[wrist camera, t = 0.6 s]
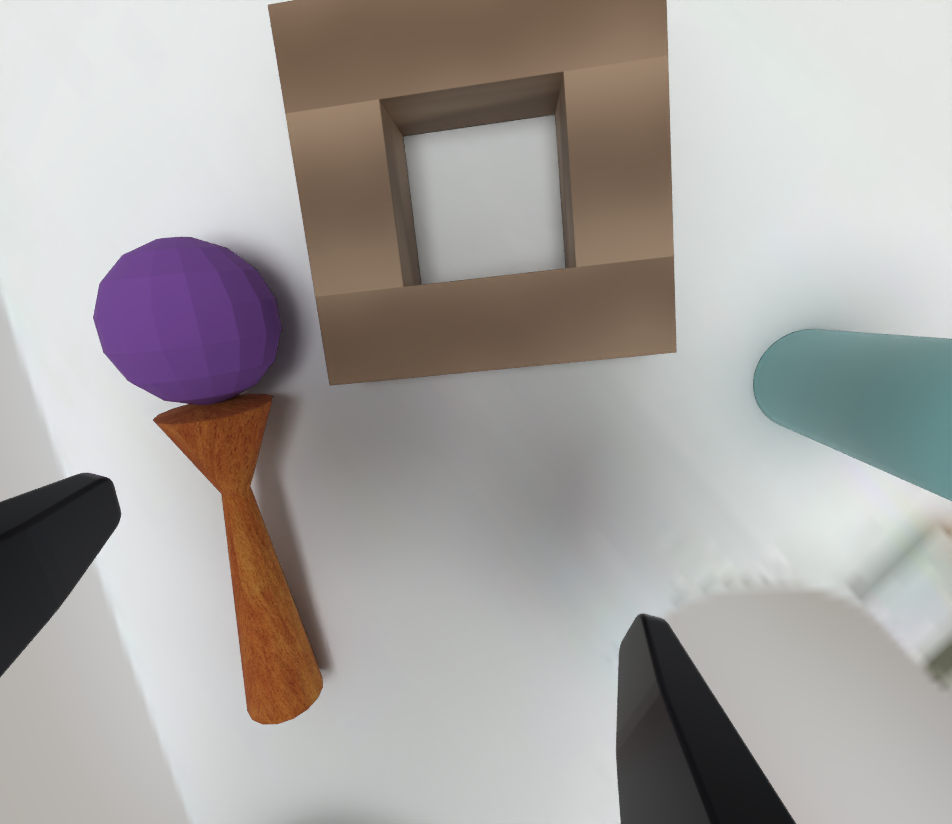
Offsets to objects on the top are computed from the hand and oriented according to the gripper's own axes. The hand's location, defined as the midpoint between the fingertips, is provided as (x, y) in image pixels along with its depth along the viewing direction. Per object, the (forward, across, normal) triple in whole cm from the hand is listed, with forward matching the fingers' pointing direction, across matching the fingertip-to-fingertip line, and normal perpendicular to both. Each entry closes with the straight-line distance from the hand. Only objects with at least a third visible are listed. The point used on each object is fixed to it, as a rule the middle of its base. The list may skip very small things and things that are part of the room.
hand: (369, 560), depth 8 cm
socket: (+15, +1, -3) cm, 16 cm away
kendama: (+11, +8, +10) cm, 17 cm away
